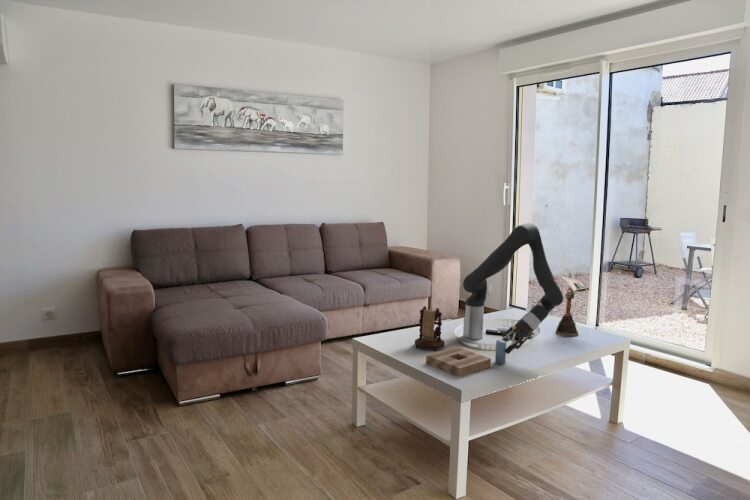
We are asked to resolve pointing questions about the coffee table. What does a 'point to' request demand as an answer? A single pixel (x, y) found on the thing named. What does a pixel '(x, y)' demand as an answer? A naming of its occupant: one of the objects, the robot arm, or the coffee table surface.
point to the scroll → (430, 330)
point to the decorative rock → (515, 327)
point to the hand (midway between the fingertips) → (502, 349)
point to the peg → (500, 352)
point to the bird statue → (567, 323)
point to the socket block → (458, 361)
